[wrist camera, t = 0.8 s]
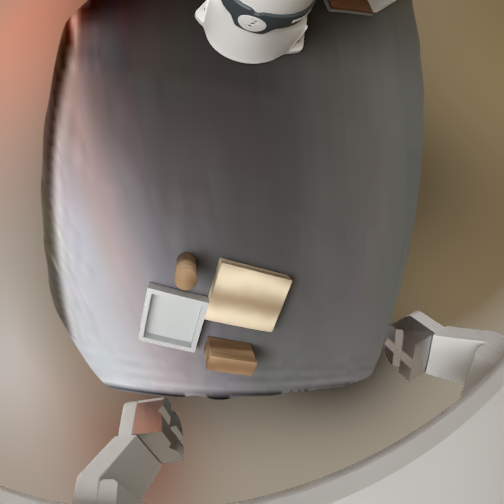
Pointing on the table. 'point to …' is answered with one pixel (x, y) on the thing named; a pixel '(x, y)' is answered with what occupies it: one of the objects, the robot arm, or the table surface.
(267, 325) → the board
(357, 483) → the robot arm
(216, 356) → the wooden block
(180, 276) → the dowel
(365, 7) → the display case
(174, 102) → the table surface
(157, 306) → the tray
